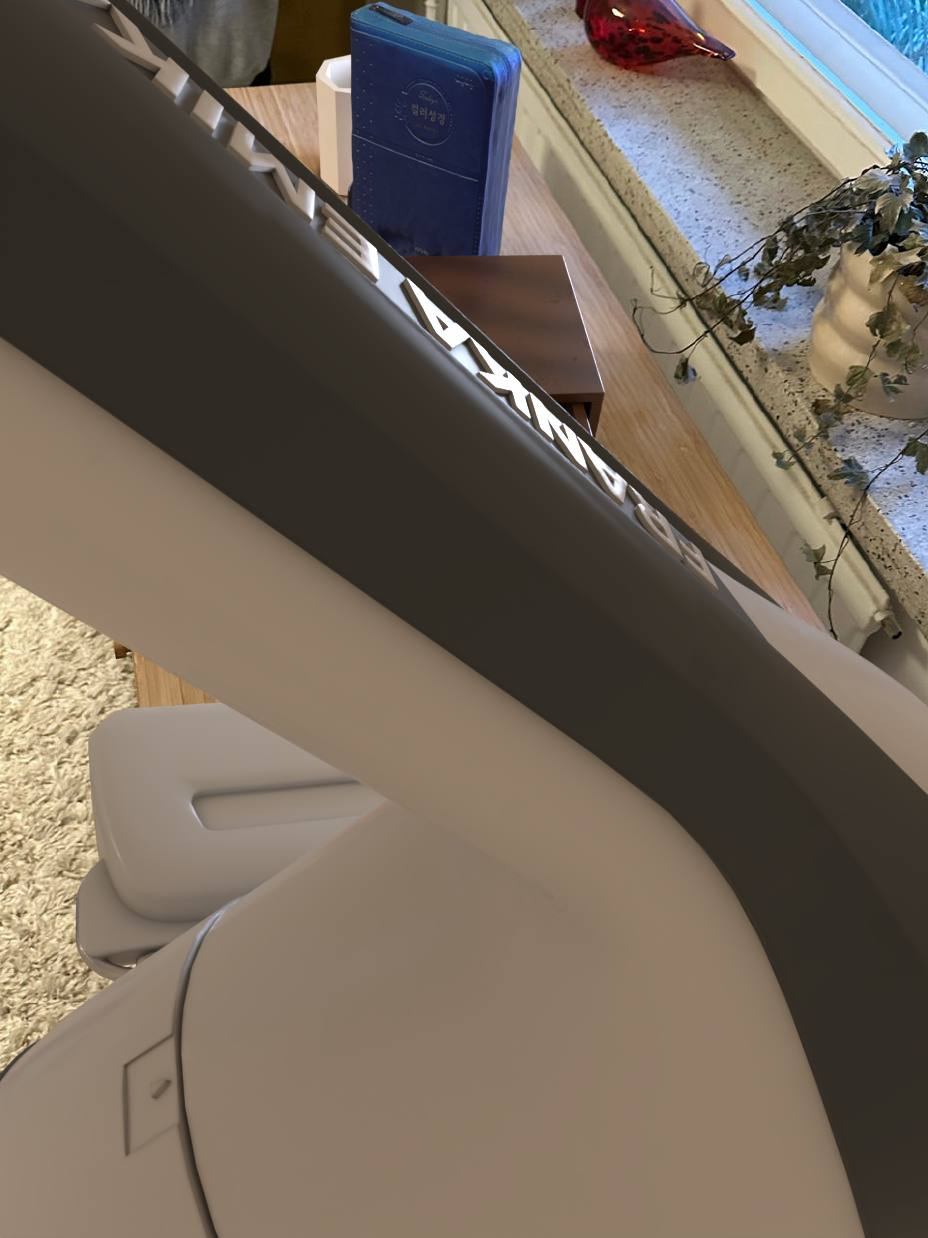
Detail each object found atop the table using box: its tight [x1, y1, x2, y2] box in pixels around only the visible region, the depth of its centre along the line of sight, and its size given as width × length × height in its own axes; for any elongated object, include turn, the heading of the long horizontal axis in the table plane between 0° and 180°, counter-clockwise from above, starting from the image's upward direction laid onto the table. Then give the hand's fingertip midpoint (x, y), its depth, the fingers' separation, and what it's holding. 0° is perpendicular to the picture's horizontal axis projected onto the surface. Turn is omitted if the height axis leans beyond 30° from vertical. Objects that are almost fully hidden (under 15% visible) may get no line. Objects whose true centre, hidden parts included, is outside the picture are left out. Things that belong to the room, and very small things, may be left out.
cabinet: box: [401, 254, 606, 439], centre depth 77 cm, size 17×14×9 cm
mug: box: [315, 54, 353, 197], centre depth 96 cm, size 12×9×10 cm
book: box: [346, 1, 523, 256], centre depth 85 cm, size 14×5×20 cm, turn 60°
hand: (368, 638), depth 39 cm, fingers closed
